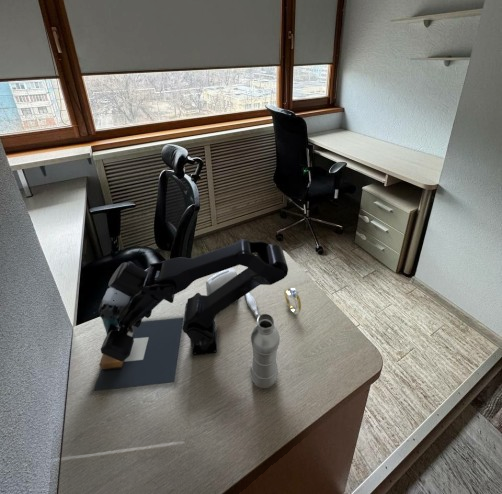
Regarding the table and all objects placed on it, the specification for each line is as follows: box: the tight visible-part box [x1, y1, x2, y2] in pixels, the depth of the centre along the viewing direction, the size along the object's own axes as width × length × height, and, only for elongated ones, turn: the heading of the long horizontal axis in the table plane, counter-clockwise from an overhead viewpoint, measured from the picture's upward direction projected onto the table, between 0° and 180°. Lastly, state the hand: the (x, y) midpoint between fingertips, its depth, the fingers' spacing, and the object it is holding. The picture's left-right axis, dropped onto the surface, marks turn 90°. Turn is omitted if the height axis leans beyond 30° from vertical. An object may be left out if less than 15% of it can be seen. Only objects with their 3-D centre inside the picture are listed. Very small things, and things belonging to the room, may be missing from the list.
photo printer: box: [205, 268, 238, 305], centre depth 84 cm, size 10×4×12 cm, turn 123°
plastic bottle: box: [250, 313, 281, 389], centre depth 63 cm, size 6×7×20 cm
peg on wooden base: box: [98, 316, 134, 371], centre depth 70 cm, size 5×10×14 cm, turn 6°
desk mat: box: [92, 317, 184, 392], centre depth 72 cm, size 19×17×1 cm
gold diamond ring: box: [283, 287, 302, 315], centre depth 82 cm, size 7×3×8 cm, turn 24°
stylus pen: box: [244, 292, 260, 318], centre depth 87 cm, size 15×3×2 cm, turn 22°
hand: (108, 334), depth 70 cm, fingers open, 4 cm apart
